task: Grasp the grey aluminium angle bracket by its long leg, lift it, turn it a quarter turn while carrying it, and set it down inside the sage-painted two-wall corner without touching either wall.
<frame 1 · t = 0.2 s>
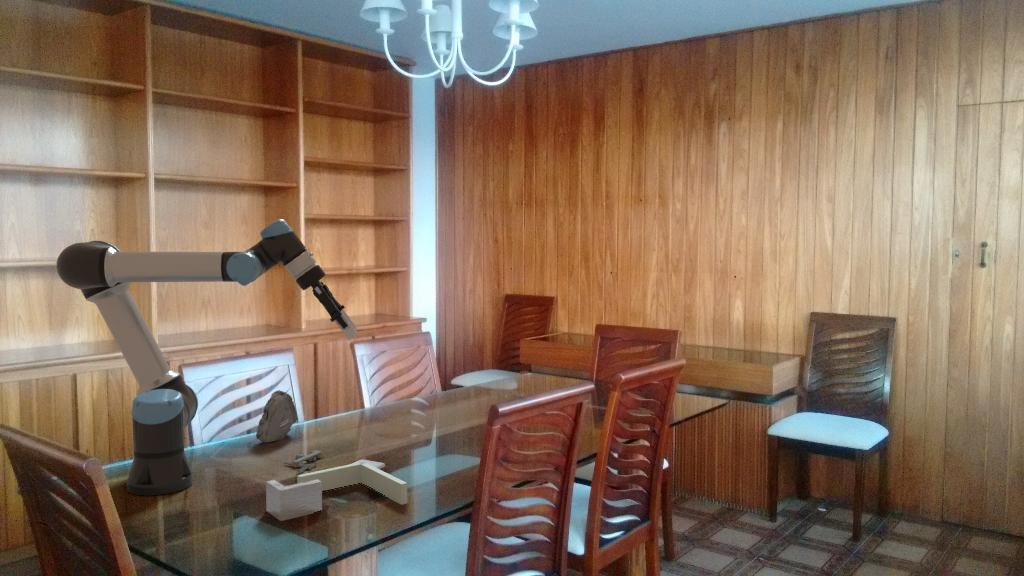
hand: (353, 333, 220), 36 cm above the table, tool tilted 35°, fingers open, 13 cm apart
bracket: (299, 514, 183), on the table
clamp: (303, 466, 221), on the table
decorative rock: (277, 440, 244), on the table
hard drive: (359, 473, 215), on the table
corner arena: (350, 498, 193), on the table
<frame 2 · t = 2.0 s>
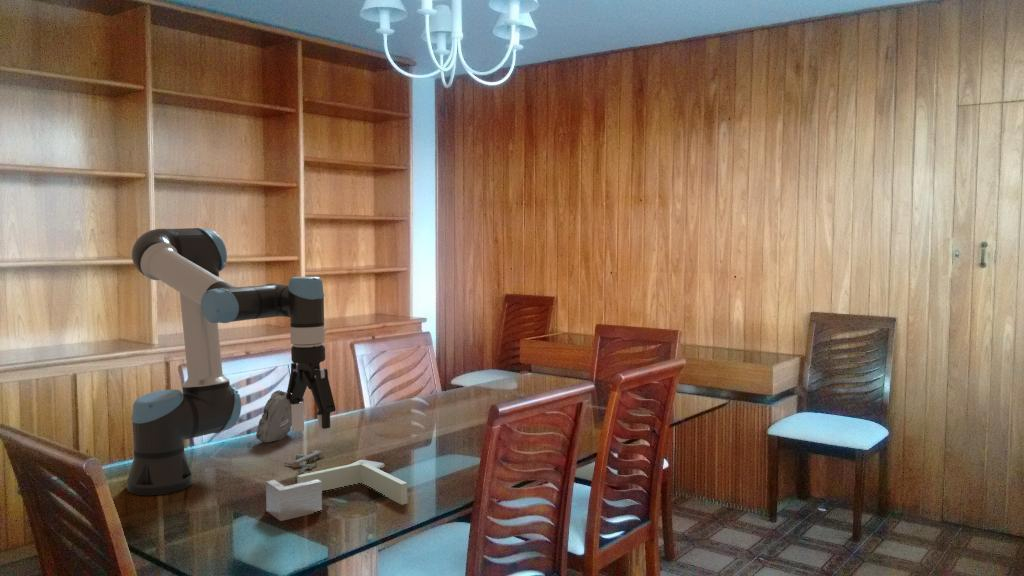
hand: (311, 436, 184), 17 cm above the table, tool pointing down, fingers open, 13 cm apart
nothing on the table moved.
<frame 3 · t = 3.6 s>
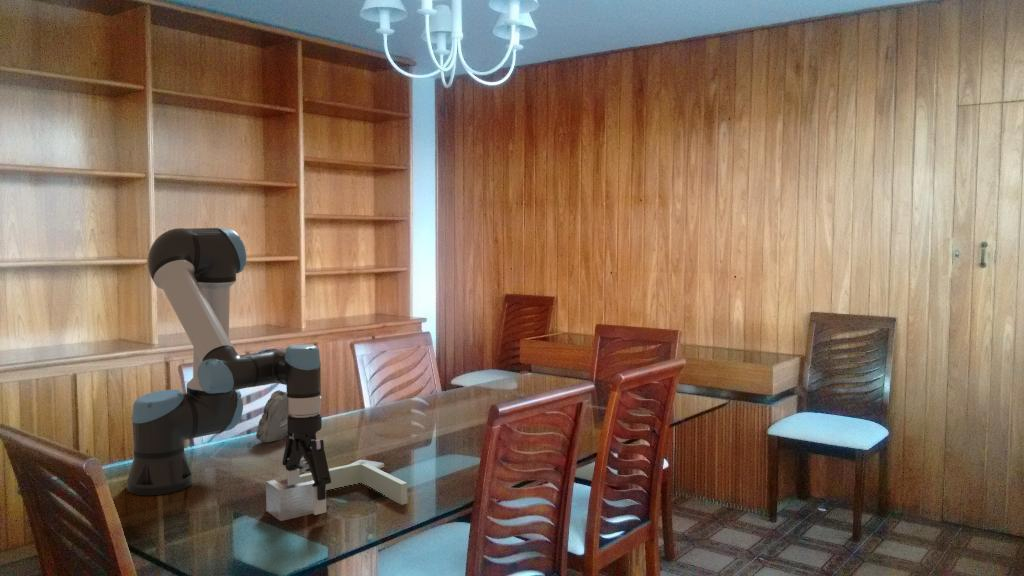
hand: (306, 505, 183), 2 cm above the table, tool pointing down, fingers open, 13 cm apart
nothing on the table moved.
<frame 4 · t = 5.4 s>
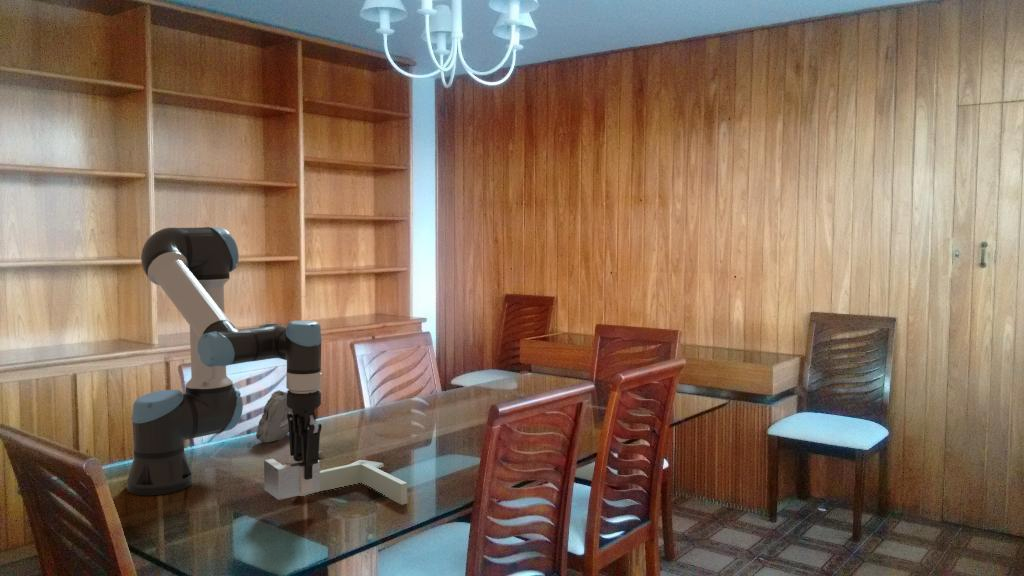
hand: (303, 490, 184), 5 cm above the table, tool pointing down, fingers closed on bracket, 2 cm apart
bracket: (297, 493, 183), point 5 cm above the table, touching gripper
everything else where it was.
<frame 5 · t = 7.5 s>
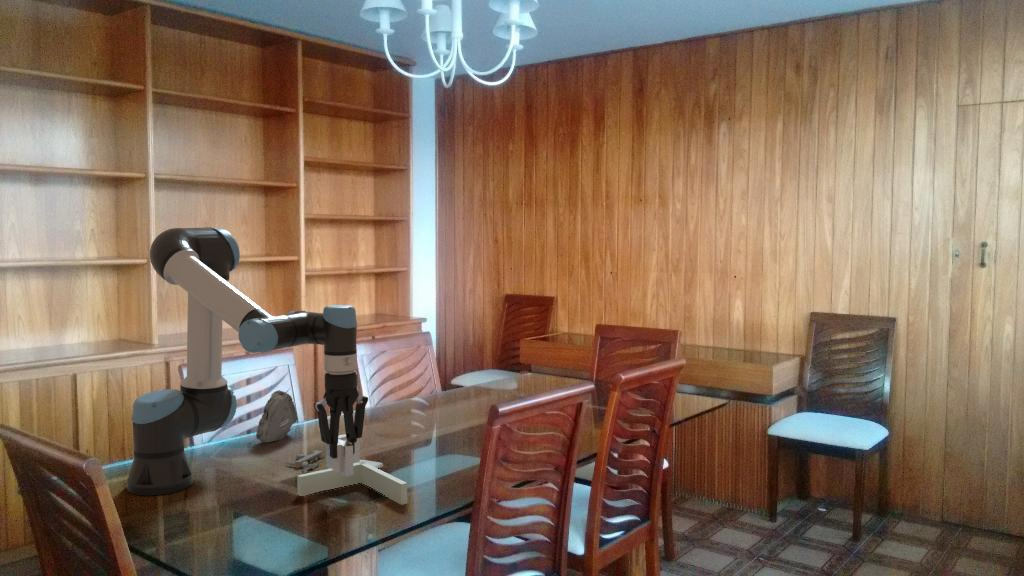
hand: (342, 469, 189), 8 cm above the table, tool pointing down, fingers closed on bracket, 2 cm apart
bracket: (339, 470, 191), point 8 cm above the table, touching gripper
everything else where it was.
when the fingers open (0 cm above the table, at t = 9.7 s): bracket stays where it is, on the table.
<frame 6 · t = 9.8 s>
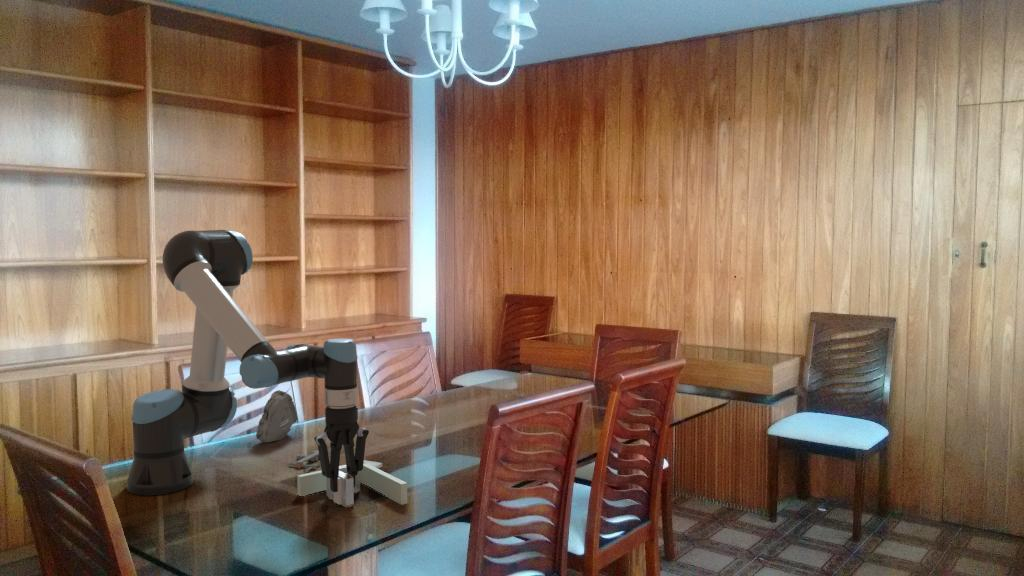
hand: (343, 502, 190), 0 cm above the table, tool pointing down, fingers open, 2 cm apart
bracket: (339, 501, 191), on the table
everything else where it was.
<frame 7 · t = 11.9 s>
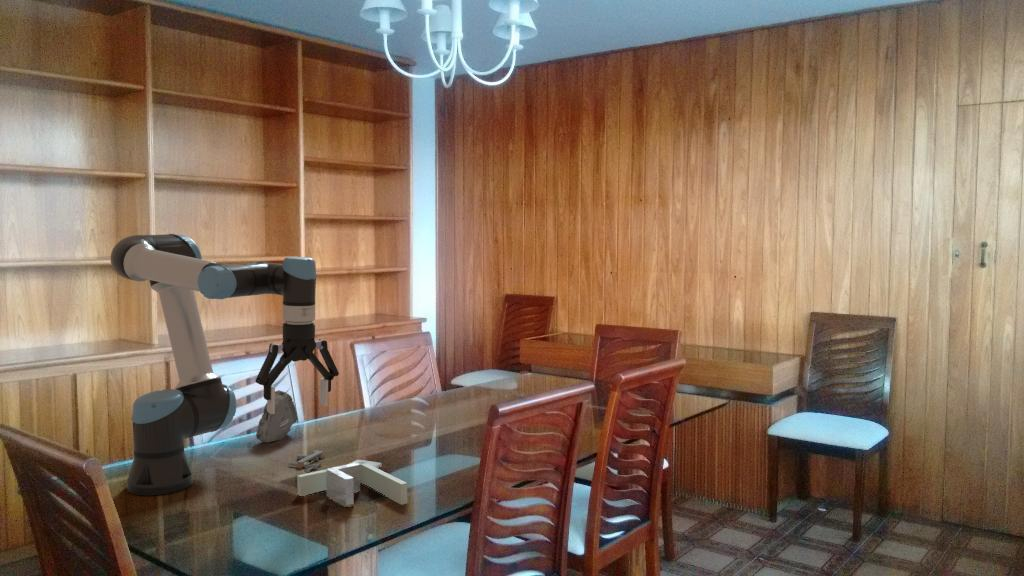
hand: (297, 409, 194), 21 cm above the table, tool pointing down, fingers open, 13 cm apart
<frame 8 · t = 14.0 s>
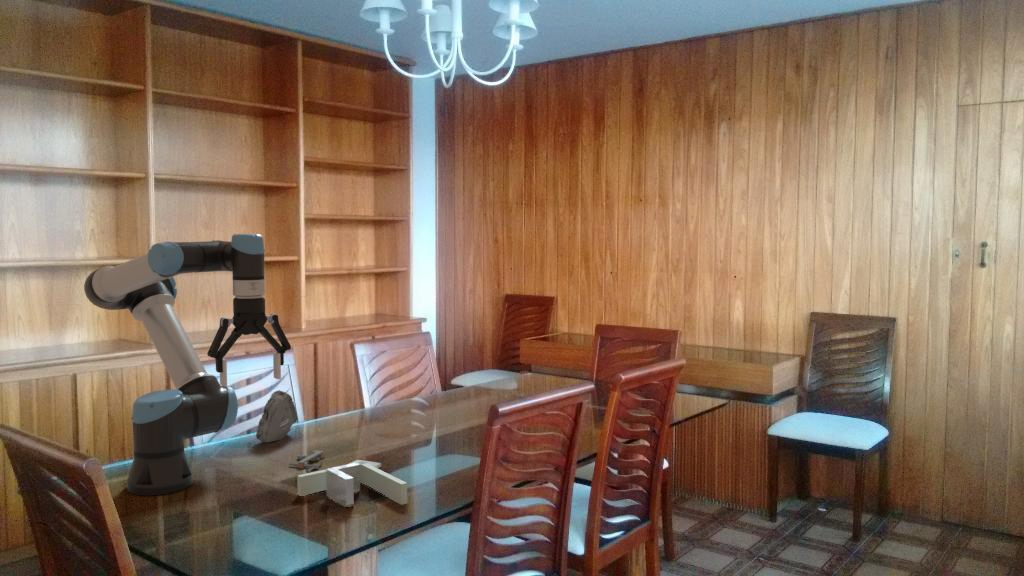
hand: (251, 381, 199), 27 cm above the table, tool pointing down, fingers open, 13 cm apart
at the end: bracket inside the target area (1.7 cm from its centre), on the table; bracket touching table; bracket moved 11.2 cm from its start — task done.
